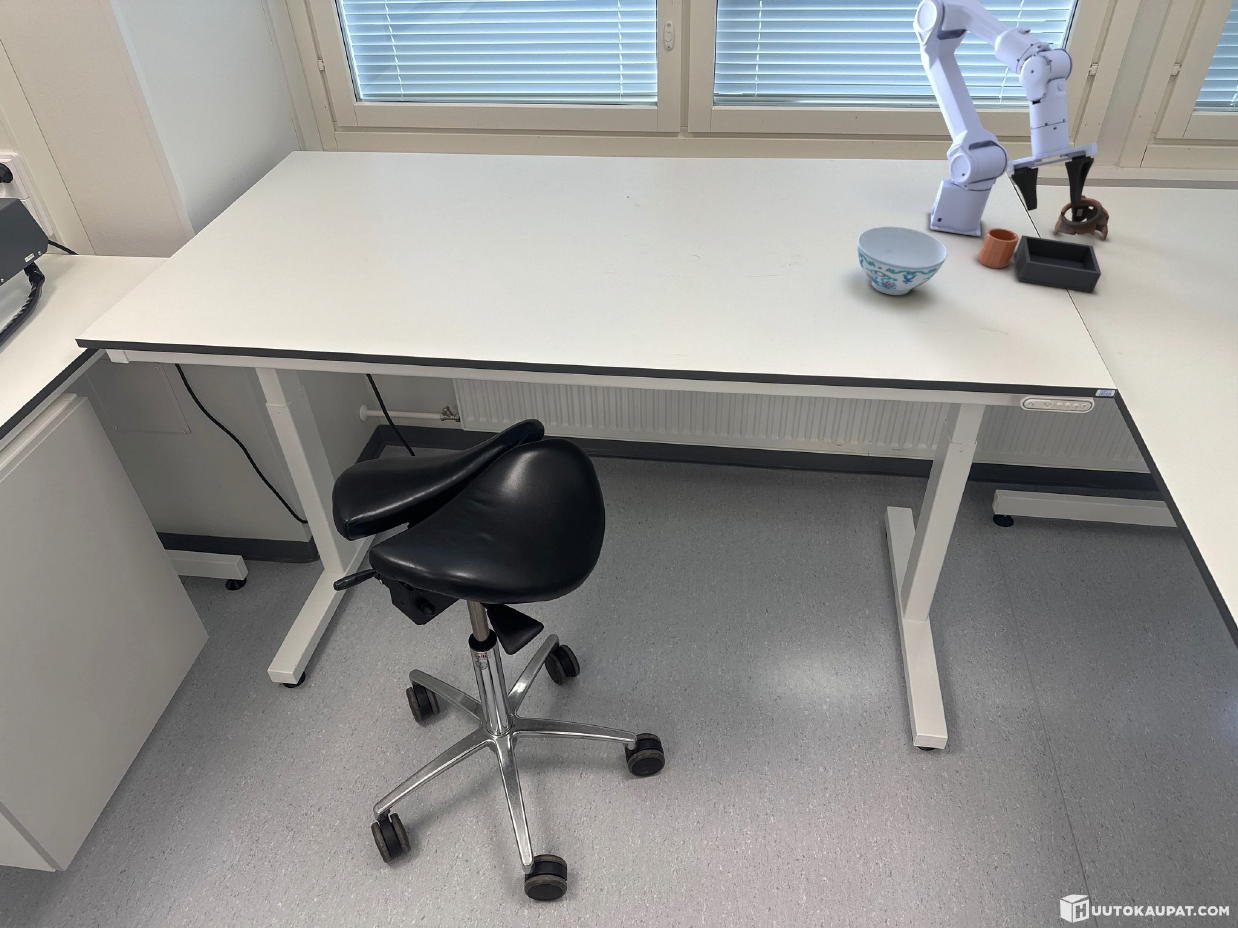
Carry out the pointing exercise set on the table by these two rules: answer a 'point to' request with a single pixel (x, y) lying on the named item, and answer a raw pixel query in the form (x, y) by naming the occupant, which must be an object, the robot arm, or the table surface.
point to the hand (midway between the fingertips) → (1053, 206)
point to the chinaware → (899, 258)
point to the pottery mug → (1083, 218)
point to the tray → (1057, 264)
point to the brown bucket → (998, 248)
